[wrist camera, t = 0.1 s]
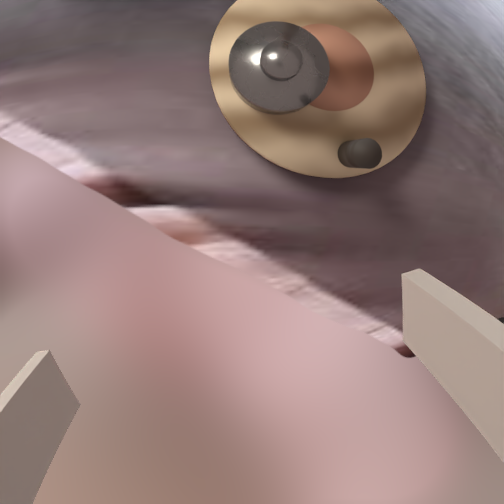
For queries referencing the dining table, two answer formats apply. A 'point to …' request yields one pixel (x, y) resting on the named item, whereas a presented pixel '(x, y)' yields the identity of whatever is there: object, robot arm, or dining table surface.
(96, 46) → the dining table surface
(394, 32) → the turntable
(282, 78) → the cover
